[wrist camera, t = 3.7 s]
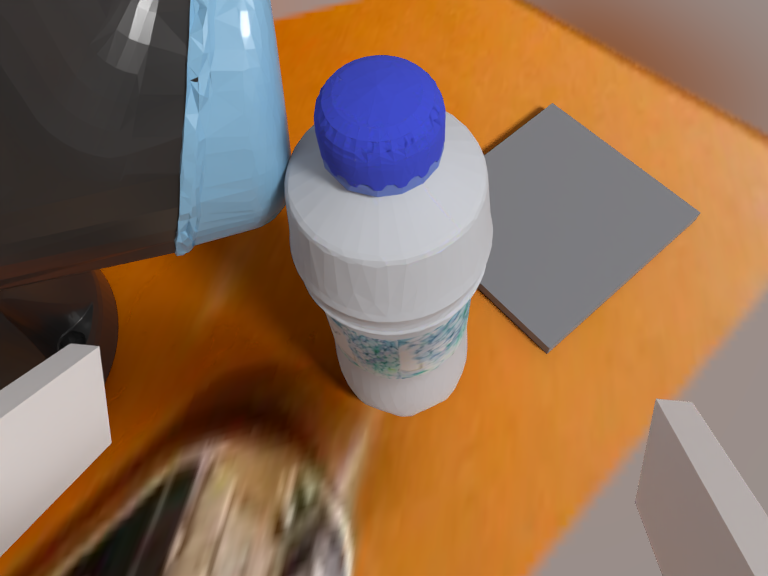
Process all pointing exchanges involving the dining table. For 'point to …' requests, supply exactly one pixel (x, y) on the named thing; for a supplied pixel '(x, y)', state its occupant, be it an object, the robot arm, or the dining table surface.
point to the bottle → (390, 230)
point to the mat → (569, 224)
